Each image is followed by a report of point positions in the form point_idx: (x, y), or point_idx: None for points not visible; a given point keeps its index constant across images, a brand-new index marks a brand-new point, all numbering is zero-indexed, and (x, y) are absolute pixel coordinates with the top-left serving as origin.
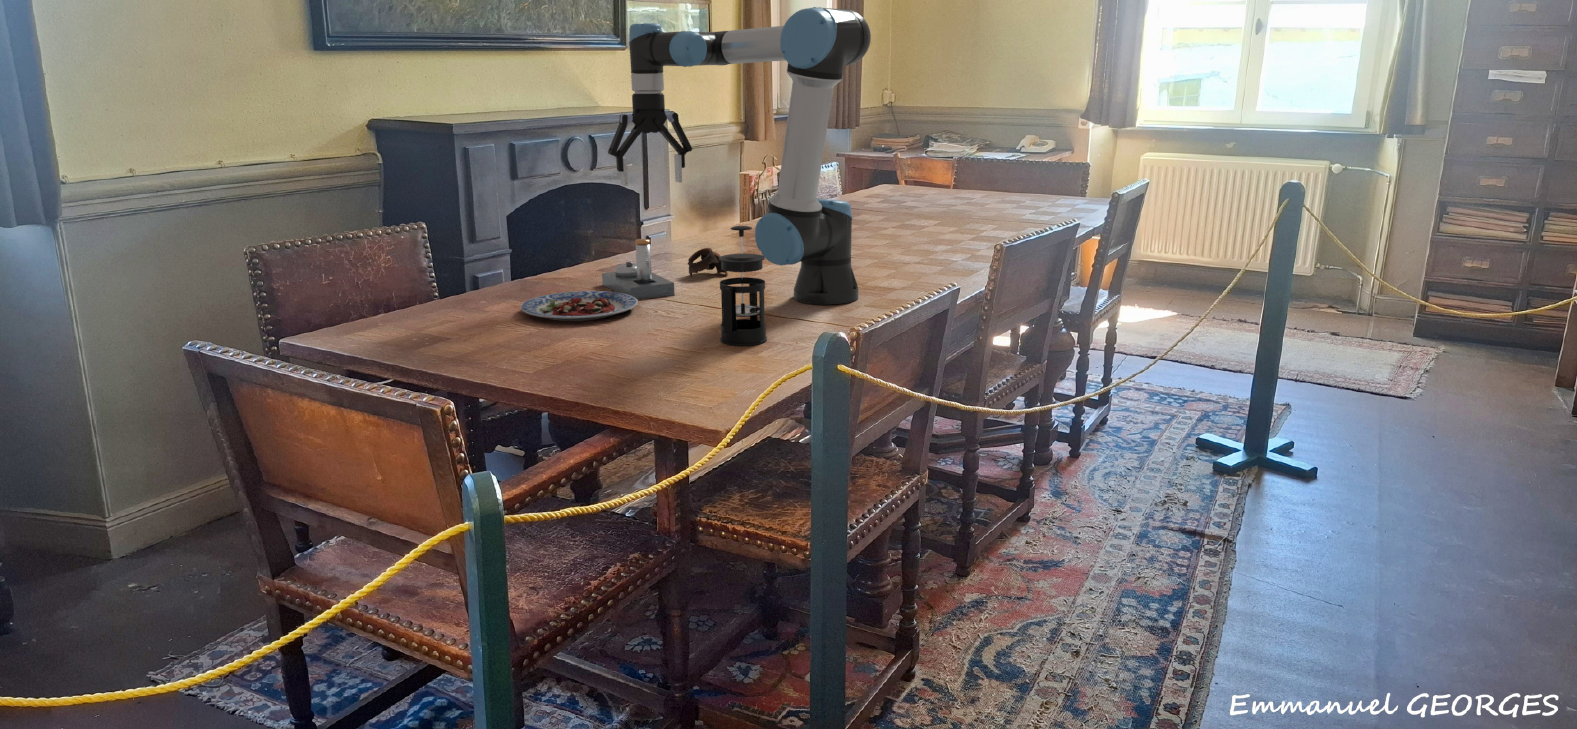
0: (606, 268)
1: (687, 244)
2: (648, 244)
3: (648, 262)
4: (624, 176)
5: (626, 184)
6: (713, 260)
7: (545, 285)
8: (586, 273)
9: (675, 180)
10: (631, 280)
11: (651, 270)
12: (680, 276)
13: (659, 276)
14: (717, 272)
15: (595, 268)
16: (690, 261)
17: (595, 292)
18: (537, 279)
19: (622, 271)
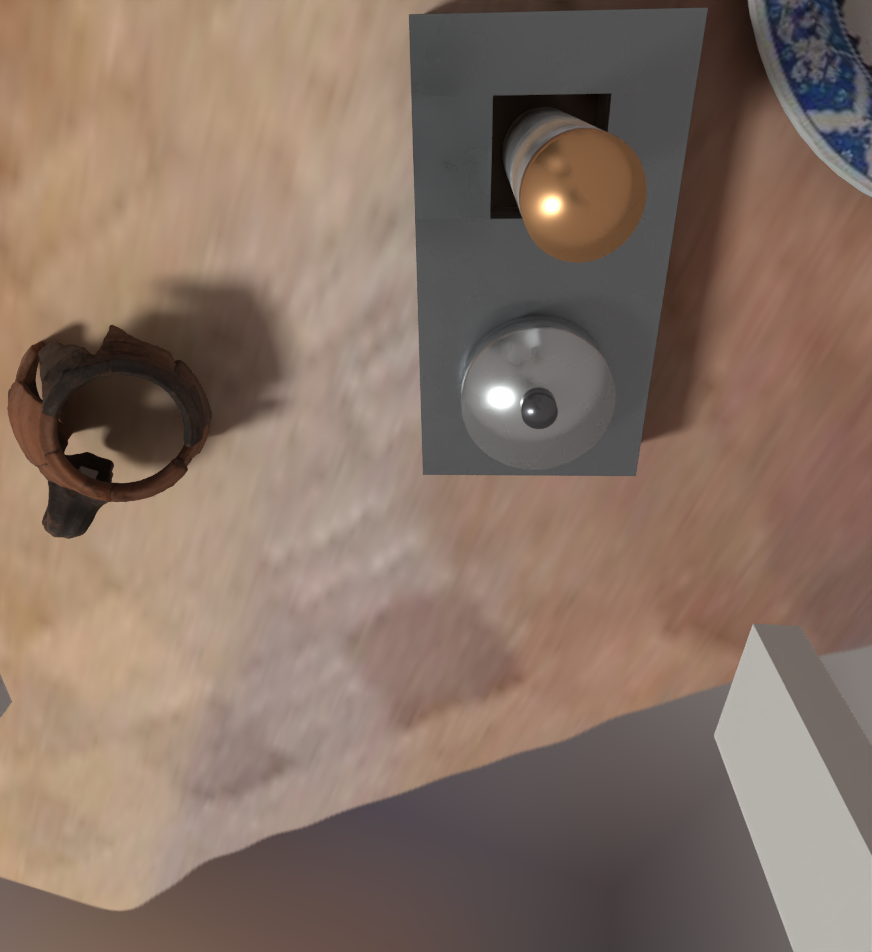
0: (475, 694)
1: (101, 864)
2: (555, 135)
3: (548, 121)
4: (870, 744)
5: (783, 640)
6: (64, 354)
7: (820, 550)
8: (576, 658)
9: (3, 707)
10: None
11: (513, 147)
12: (251, 444)
13: (420, 254)
14: (71, 430)
15: (510, 710)
16: (179, 461)
17: (851, 136)
18: None
19: (599, 352)
